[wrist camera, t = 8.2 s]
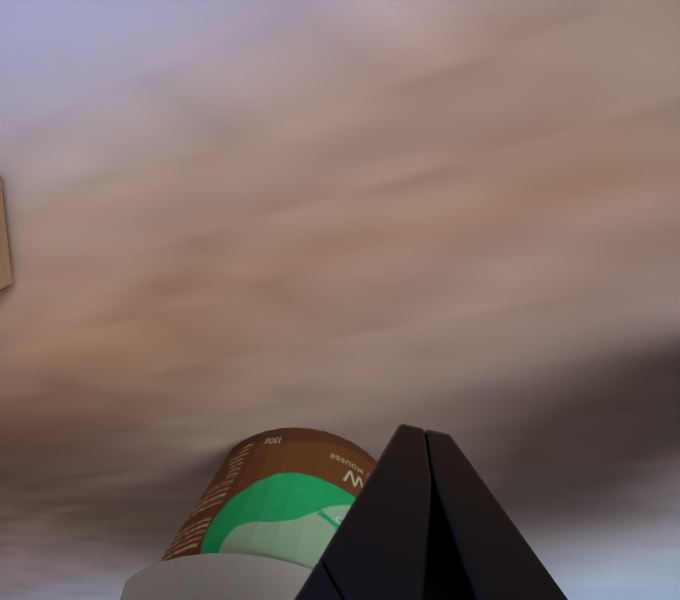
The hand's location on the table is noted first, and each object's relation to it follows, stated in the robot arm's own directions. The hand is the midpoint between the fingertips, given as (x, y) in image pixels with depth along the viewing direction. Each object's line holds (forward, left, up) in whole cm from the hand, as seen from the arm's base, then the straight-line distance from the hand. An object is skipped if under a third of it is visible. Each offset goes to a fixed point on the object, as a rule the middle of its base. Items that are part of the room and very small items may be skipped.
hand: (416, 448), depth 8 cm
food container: (+8, +10, -12) cm, 18 cm away
